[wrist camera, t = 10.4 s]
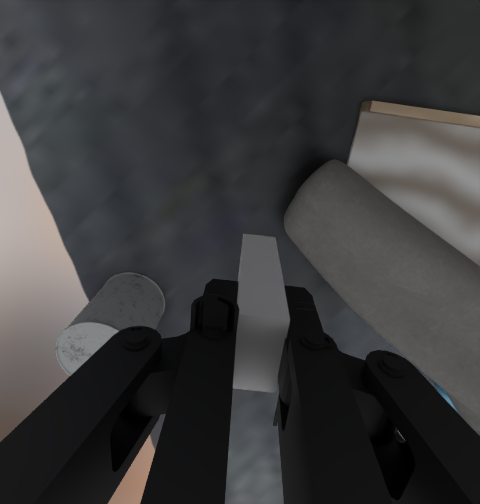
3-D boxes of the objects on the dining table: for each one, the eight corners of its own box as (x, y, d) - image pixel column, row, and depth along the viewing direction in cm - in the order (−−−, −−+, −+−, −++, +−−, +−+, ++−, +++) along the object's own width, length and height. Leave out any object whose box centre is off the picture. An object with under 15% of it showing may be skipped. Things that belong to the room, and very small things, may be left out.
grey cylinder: (132, 259, 46) (92, 307, 35) (178, 305, 49) (156, 363, 37) (88, 296, 48) (37, 351, 37) (134, 337, 51) (101, 401, 40)
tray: (362, 101, 37) (374, 100, 33) (639, 141, 38) (681, 144, 34) (323, 253, 44) (330, 266, 41) (556, 285, 45) (583, 300, 41)
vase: (288, 183, 29) (563, 461, 25) (368, 121, 33) (613, 348, 29) (257, 237, 40) (441, 434, 36) (320, 186, 45) (491, 355, 40)
